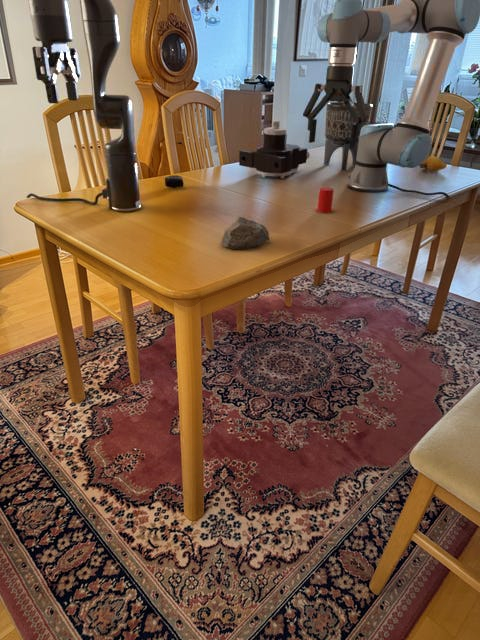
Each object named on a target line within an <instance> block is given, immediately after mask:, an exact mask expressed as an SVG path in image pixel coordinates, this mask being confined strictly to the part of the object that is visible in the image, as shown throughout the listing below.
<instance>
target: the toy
mask: <svg viewBox="0 0 480 640" xmlns="http://www.w3.org/2000/svg"><path fill="white" fill-rule="evenodd" d="M447 165H448V164H446V163H445V162H442V159H440V158H439V157H437V156H429V157H427V158H426V159H425V161H424V162H423V163H422V164H420V165H419V166H418V167H419V168H421V169H425V170H429V171H430V172H439V171H442V170H444V169H446V168H447Z"/></svg>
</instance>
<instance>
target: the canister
mask: <svg viewBox="0 0 480 640" xmlns="http://www.w3.org/2000/svg"><path fill="white" fill-rule="evenodd" d="M334 193H335V191H334V188H333V187H330V186H322V187H319V191H318V197H317V199H318V200H317V208H316V209H317V210H316V211H317V212H318V213H322V214H330V213H331V212H332V209H333V208H332V206H333V200H334Z"/></svg>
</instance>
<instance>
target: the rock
mask: <svg viewBox="0 0 480 640" xmlns="http://www.w3.org/2000/svg"><path fill="white" fill-rule="evenodd" d="M269 241H270V233H269V230H268V229H267V228H266V226H265V225H263V224H261V223H259V222H256V221H255V220H252V219H247V218H245V217H241V216H238V217H237V218H236V219H235V221H234V222H233V223H232V224H231V225H229V226H228V227H227V228H226V229H225V231H224V233H223V236H222V239H221V244H222V247H224V248H229V249H231V250H245V249H254V248H257V247H259V246H260V245H264V244H266V242H269Z"/></svg>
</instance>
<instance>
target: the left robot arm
mask: <svg viewBox="0 0 480 640" xmlns="http://www.w3.org/2000/svg"><path fill="white" fill-rule="evenodd" d="M27 3H28V7H29V8H28V9H29V13H30V19H31V25H32V30H33V37H34V39H35V41H37V42H41V46H32V48H31V49H32V50H31V51H32V56H33V57H32V58H33V64H34V69H35V70H34V71H35V76H36V80H38V81H41V82H42V83H43V84H44V87H45V92H46V98H47V102H48V104H59V103H60V98H59V92H58V87H57V84H56V82H57V77H58V75H59V74H62V76H63V78H64V80H65V87H66V94H67V100H68V101H73V102H75V101H78V100H79V93H78V86H77V82H78V79H81V78H82V74H81V68H80V63H79V55H78V50H77V48H75V47H69V45H68V43H71V42H73V41H74V37H73V30H72V24H71V16H70V9H69V3H68V0H27ZM79 6H80V15H81V20H82V21H81V22H82V28H83V35H84V41H85V46H86V53H87V58H88V64H89V72H90V80H91V91H92V92H91V94H92V104H93V113H94V119H95V121H96V124H97V126H98V127H99V128H100V129H103V130H104V129H105V130H121V134H120V135H119V136H118V137H117V138H114V139H111V140H109V141H106V142H105V143H104V144H103V145H104V146H103V147H104V155H105V156H104V157H105V163H106V164H105V165H106V171H107V178H106V179H105V185H106V186H105V188H103V189H102V190H101V192H99V193H98V194H96V196H95V198H94V201H89V200H88V199H85V198H81V197H69V198H68V197H67V198H54V197H53V198H52V197H51V198H50V197H44V196H40V195H37V194H35V193H32V192H31V193H29V194H27V195H26V199H30V198H31V197H33V198H34V199H37V200H39V201H46V202H47V201H48V202H83V203H85V204H87V205H88V204H89V205H92V206H95V205H97V204H98V202H99V198H101V197H102V199H105V200H106V199H107V201H108V209H109V210H112V211H115V212H119V213H120V212H122V213H128V212H129V213H130V212H135V211H138V210H140V209H141V208H142V200H141V193H140V184H139V183H140V182H139V172H138V163H137V162H138V161H137V151H136V136H135V118H134V104H133V101H132V98H131V97H130V96H128V95H127V94H107V92H106V91H107V89H106V87H107V86H106V83H107V77H108V74H109V71H110V68H111V66H112V63H113V61H114V59H115V58H116V55H117V53H118V51H119V47H120V43H121V36H120V27H119V22H118V21H119V20H118V19H119V18H118V14H117V11H116V8H115V5H114V4H113V2H112V1H111V0H79Z"/></svg>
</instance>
